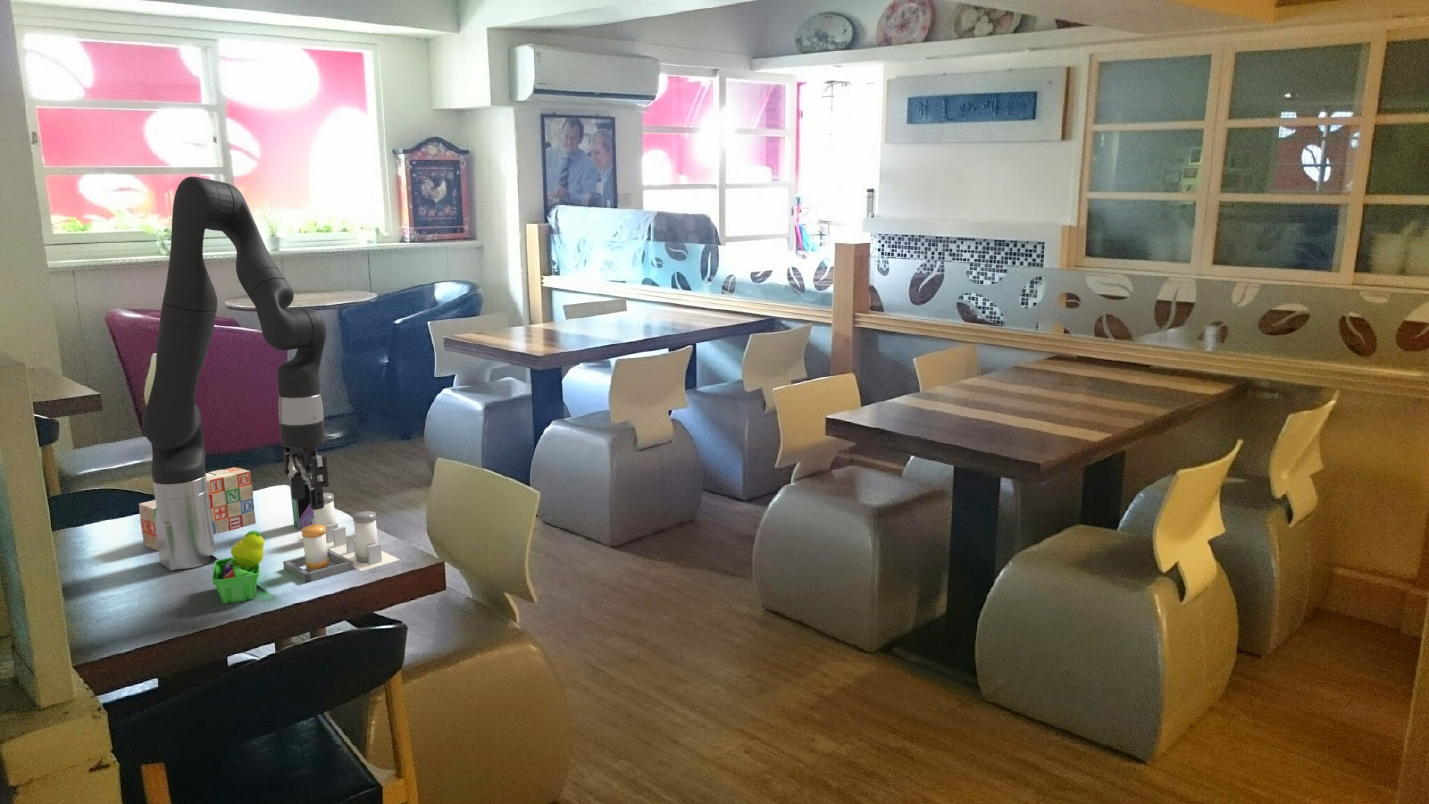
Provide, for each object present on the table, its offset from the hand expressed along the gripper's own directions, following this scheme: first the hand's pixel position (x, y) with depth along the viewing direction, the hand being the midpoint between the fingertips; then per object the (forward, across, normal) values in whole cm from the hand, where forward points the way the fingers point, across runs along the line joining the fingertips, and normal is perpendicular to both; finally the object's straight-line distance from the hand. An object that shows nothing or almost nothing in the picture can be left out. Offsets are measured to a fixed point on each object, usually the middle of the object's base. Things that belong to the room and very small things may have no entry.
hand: (307, 503), depth 190 cm
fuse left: (+13, +16, -10) cm, 23 cm away
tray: (+15, 0, -1) cm, 15 cm away
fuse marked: (+14, 0, -1) cm, 14 cm away
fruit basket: (+15, +3, +12) cm, 20 cm away
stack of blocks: (+16, +43, +6) cm, 46 cm away
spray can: (+15, +28, -10) cm, 33 cm away
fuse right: (+13, -2, -10) cm, 17 cm away
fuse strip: (+14, +8, -10) cm, 19 cm away
